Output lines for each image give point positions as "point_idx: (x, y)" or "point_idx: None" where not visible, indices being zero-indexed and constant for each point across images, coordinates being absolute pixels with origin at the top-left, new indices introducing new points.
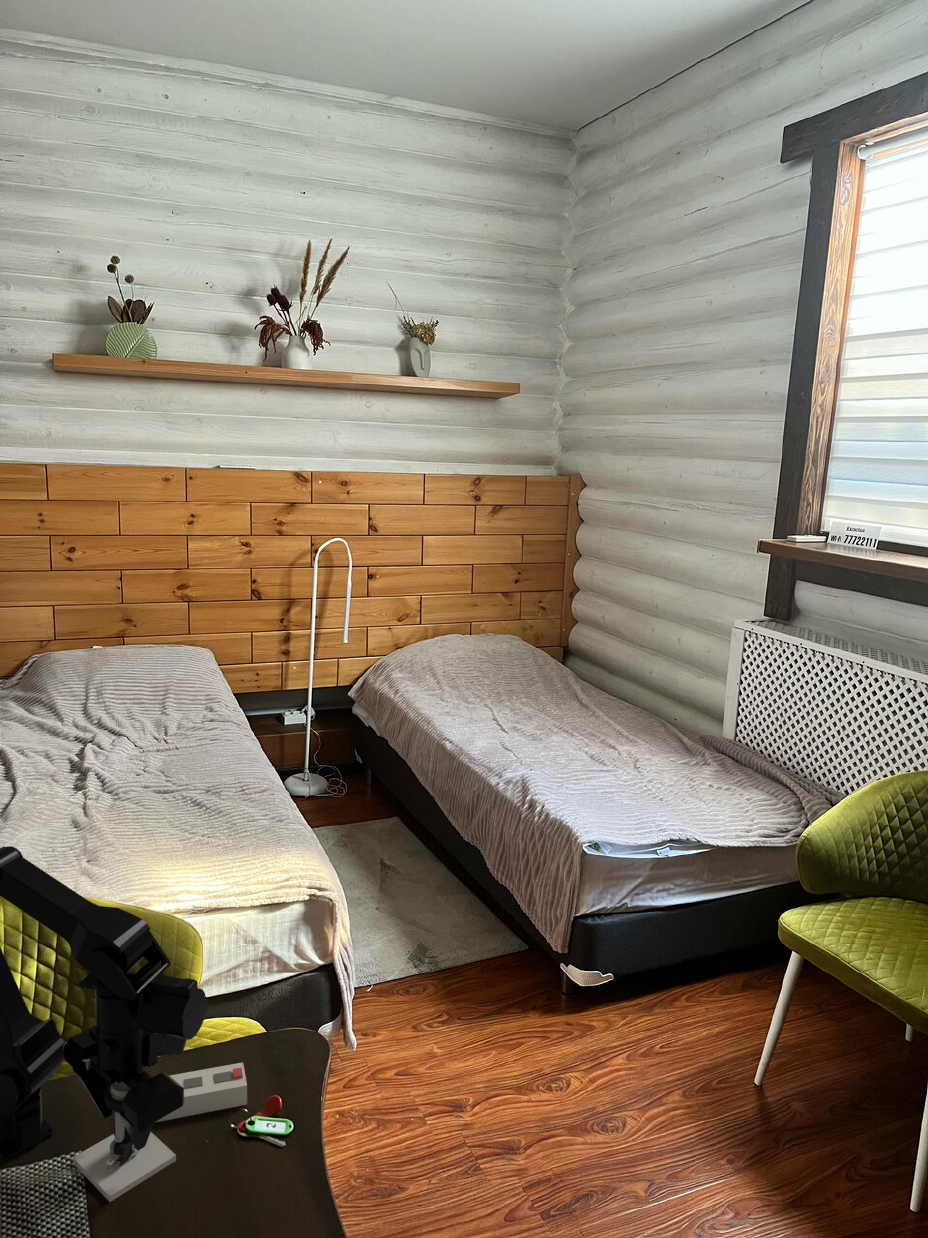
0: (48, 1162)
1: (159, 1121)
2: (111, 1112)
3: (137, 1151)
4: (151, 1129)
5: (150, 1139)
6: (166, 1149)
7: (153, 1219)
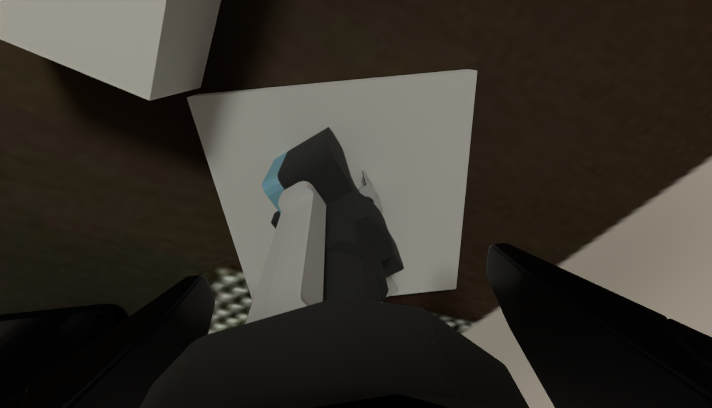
0: None
1: (217, 6)
2: (197, 284)
3: (370, 183)
4: (615, 294)
5: (328, 109)
6: (423, 85)
7: (584, 223)
